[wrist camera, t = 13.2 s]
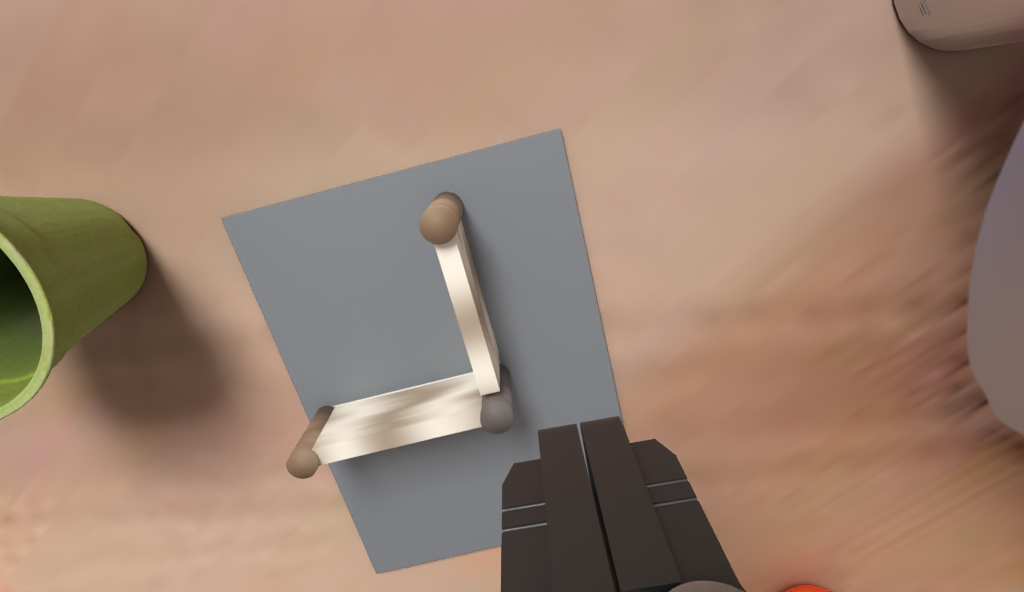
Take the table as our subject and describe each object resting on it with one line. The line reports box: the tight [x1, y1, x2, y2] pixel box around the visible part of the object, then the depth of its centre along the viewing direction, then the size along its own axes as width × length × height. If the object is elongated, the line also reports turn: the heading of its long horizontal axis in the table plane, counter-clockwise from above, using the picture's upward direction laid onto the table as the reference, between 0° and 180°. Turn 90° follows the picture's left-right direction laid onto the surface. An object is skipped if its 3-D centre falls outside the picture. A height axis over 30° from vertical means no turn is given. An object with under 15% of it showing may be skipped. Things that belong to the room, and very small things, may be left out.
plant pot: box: [0, 196, 147, 419], centre depth 28 cm, size 12×12×11 cm
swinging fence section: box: [286, 364, 513, 479], centre depth 34 cm, size 14×2×6 cm, turn 104°
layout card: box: [221, 129, 623, 574], centre depth 37 cm, size 22×30×1 cm
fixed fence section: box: [419, 192, 500, 395], centre depth 32 cm, size 12×2×6 cm, turn 14°
